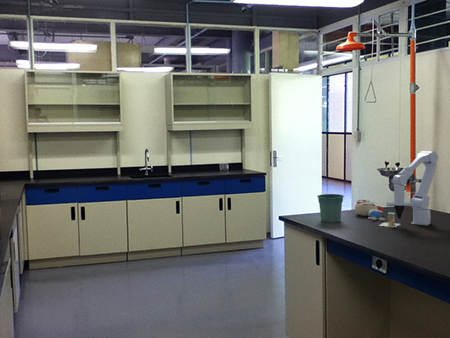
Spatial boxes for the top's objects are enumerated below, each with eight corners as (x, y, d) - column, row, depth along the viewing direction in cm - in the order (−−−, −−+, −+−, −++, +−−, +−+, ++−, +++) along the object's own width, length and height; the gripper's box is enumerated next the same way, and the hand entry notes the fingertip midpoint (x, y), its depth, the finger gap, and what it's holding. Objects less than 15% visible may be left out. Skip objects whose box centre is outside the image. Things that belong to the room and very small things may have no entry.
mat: (400, 224, 302) (400, 223, 302) (395, 227, 294) (395, 226, 294) (383, 223, 308) (383, 222, 307) (378, 226, 299) (378, 225, 299)
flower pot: (333, 224, 307) (333, 198, 305) (312, 221, 319) (311, 196, 318) (349, 220, 318) (349, 195, 316) (327, 217, 330) (327, 193, 329)
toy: (361, 210, 312) (353, 197, 341) (359, 225, 314) (351, 211, 343) (391, 212, 311) (380, 199, 340) (389, 228, 313) (379, 213, 342)
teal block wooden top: (394, 224, 302) (394, 212, 301) (394, 226, 296) (394, 214, 296) (388, 223, 303) (388, 212, 302) (388, 225, 297) (388, 214, 297)
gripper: (410, 194, 299) (410, 217, 300) (385, 194, 301) (385, 217, 302) (413, 196, 292) (413, 219, 293) (387, 196, 294) (387, 219, 295)
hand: (399, 218), depth 297 cm, fingers closed
